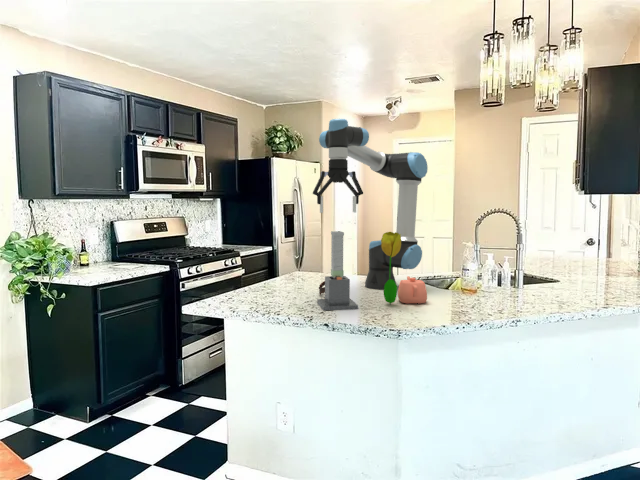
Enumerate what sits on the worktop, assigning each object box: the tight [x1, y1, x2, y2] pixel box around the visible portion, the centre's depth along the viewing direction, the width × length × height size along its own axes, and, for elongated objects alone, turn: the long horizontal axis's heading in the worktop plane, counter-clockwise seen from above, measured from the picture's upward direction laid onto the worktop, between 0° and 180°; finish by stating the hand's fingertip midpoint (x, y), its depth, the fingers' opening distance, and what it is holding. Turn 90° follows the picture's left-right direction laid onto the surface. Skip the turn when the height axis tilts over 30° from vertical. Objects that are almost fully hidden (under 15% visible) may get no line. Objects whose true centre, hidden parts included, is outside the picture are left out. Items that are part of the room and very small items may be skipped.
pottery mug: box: [318, 280, 325, 296], centre depth 217 cm, size 12×10×8 cm
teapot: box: [397, 275, 428, 305], centre depth 203 cm, size 12×18×10 cm, turn 0°
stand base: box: [316, 275, 359, 311], centre depth 195 cm, size 14×14×12 cm
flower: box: [380, 231, 401, 306], centre depth 197 cm, size 9×8×30 cm
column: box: [330, 230, 345, 279], centre depth 194 cm, size 4×6×21 cm
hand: (337, 212), depth 193 cm, fingers open, 13 cm apart
